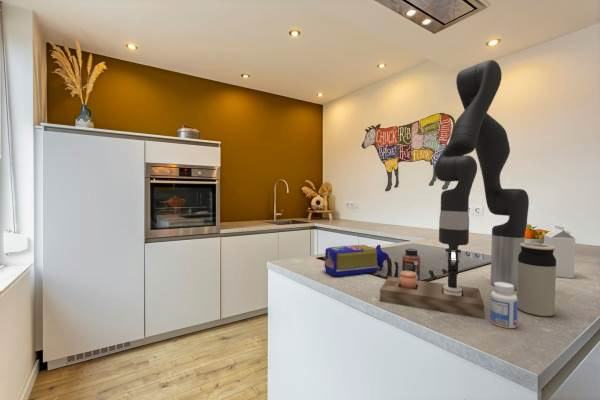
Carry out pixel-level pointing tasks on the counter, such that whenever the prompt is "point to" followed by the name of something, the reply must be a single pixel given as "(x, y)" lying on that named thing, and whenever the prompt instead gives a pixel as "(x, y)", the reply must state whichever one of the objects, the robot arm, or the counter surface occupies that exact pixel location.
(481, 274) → the counter surface
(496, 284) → the pill bottle
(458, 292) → the white lidded jar
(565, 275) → the milk carton
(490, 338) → the counter surface
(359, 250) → the bread
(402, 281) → the orange lidded jar
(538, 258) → the travel mug
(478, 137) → the robot arm
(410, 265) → the supplement bottle
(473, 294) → the panel
